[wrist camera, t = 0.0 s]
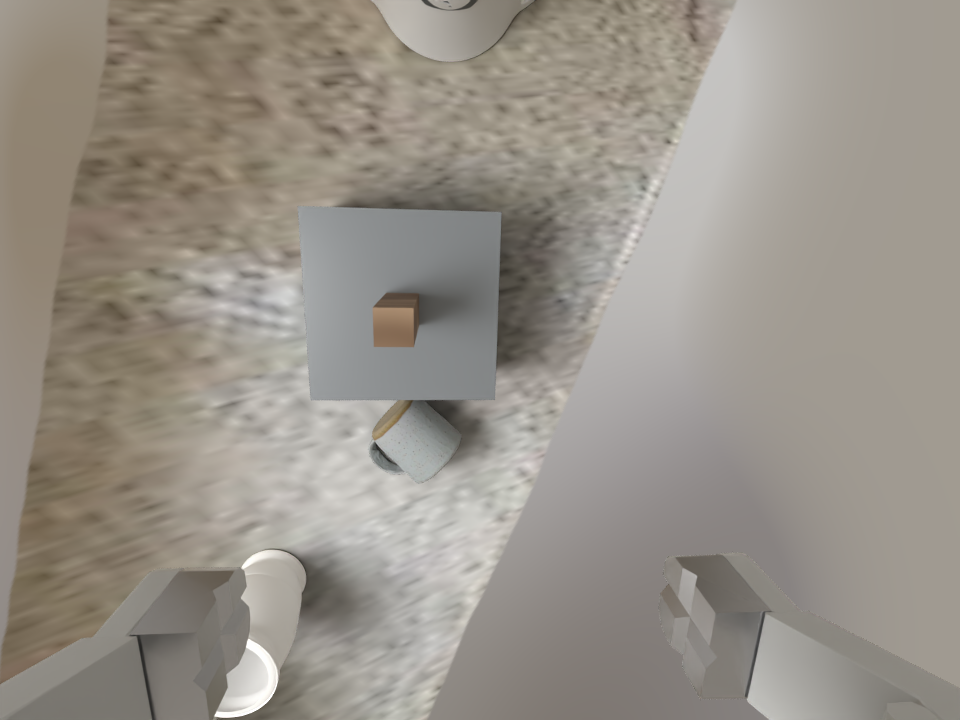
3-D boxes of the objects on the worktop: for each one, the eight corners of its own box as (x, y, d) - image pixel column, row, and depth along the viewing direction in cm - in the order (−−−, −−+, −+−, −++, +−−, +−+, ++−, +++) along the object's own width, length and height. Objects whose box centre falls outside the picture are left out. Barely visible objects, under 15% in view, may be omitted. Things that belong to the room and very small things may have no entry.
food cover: (326, 211, 52) (260, 199, 33) (489, 216, 54) (516, 206, 35) (334, 369, 57) (280, 438, 38) (485, 370, 58) (506, 437, 39)
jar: (308, 615, 65) (270, 724, 51) (228, 604, 64) (166, 713, 49) (320, 547, 63) (284, 642, 48) (238, 534, 61) (175, 627, 47)
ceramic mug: (413, 380, 58) (408, 403, 51) (462, 424, 60) (464, 452, 53) (354, 440, 60) (341, 470, 52) (404, 480, 62) (397, 515, 54)
